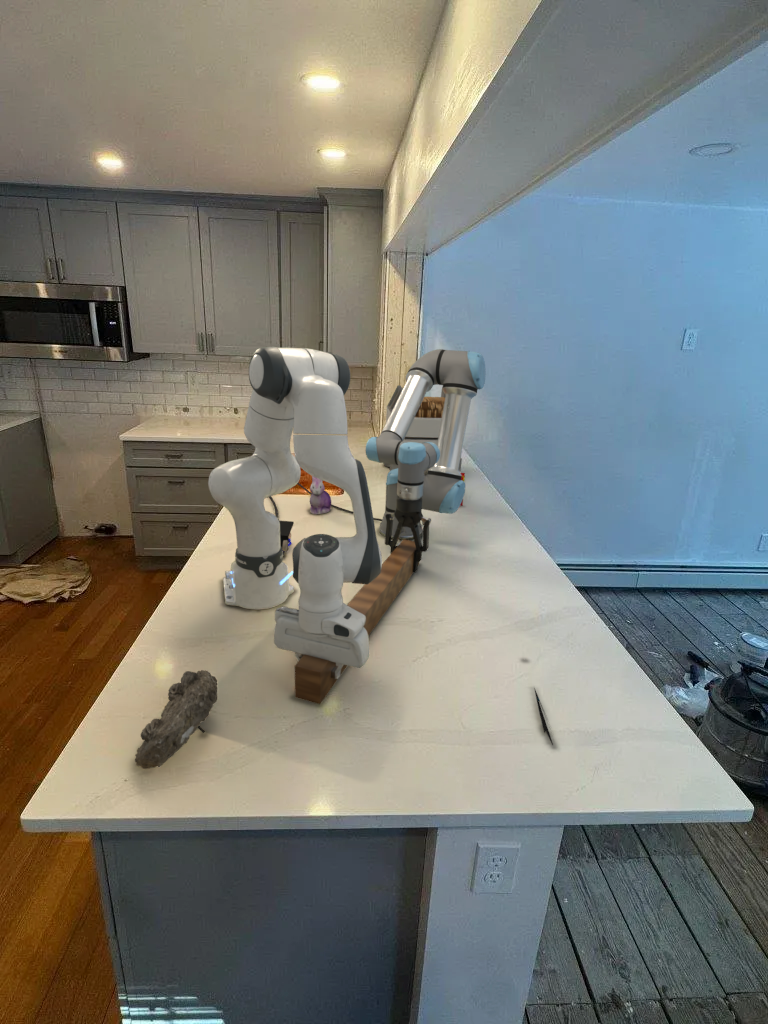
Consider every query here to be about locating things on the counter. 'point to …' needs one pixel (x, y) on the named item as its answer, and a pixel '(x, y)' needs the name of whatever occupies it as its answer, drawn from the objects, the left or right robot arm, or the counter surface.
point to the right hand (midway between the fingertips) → (405, 568)
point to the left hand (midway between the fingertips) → (320, 673)
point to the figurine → (319, 497)
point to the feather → (542, 717)
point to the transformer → (422, 420)
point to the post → (373, 604)
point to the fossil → (178, 718)
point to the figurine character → (285, 534)
